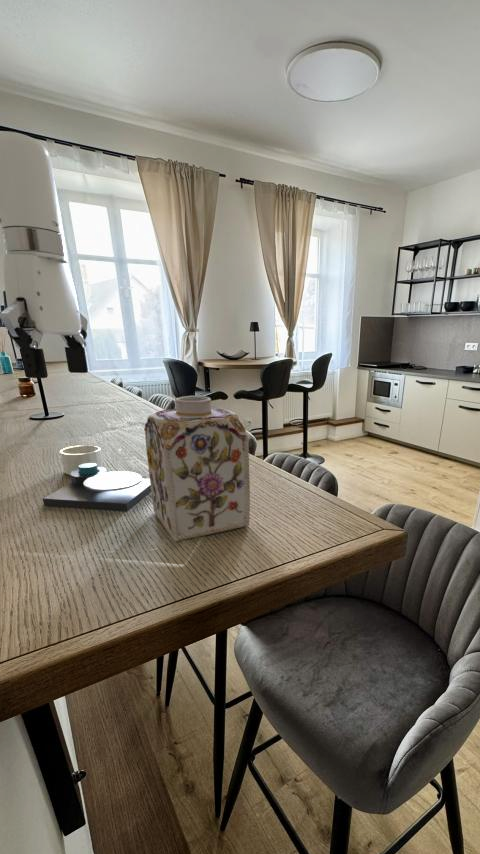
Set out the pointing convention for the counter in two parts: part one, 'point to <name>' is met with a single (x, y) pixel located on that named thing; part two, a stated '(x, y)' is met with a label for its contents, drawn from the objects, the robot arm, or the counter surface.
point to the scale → (96, 495)
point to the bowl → (80, 457)
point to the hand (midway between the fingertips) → (59, 375)
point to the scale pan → (112, 481)
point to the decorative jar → (198, 468)
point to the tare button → (88, 469)
